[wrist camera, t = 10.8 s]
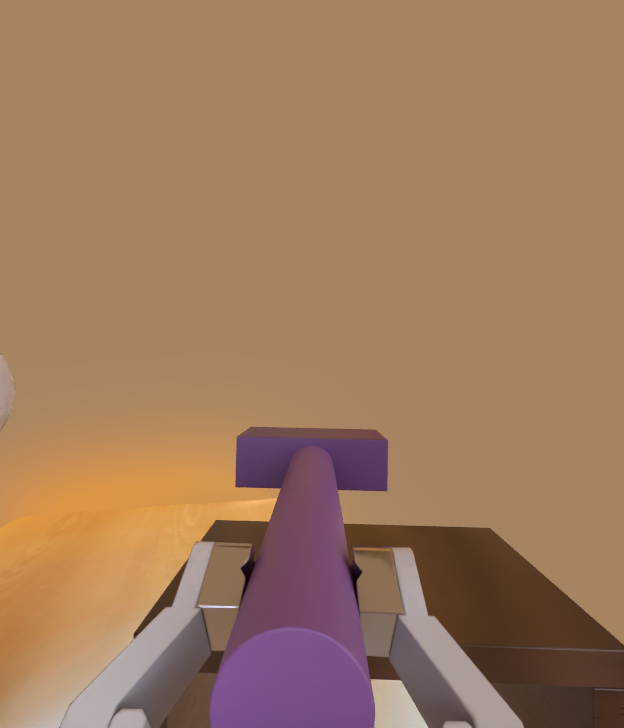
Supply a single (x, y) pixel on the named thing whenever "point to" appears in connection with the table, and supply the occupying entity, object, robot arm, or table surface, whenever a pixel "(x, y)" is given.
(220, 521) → the bench
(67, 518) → the table surface
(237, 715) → the toy hammer
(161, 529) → the table surface
